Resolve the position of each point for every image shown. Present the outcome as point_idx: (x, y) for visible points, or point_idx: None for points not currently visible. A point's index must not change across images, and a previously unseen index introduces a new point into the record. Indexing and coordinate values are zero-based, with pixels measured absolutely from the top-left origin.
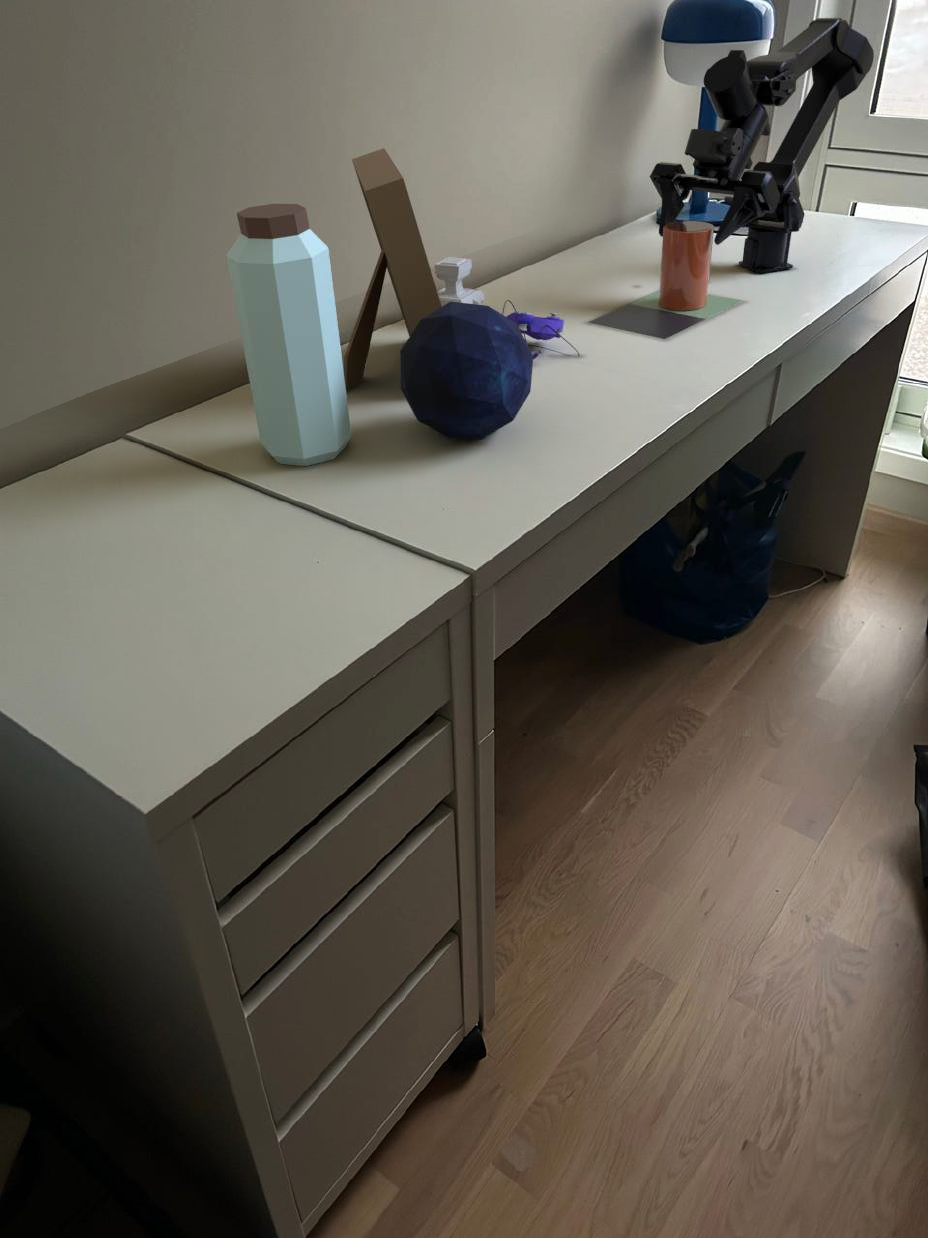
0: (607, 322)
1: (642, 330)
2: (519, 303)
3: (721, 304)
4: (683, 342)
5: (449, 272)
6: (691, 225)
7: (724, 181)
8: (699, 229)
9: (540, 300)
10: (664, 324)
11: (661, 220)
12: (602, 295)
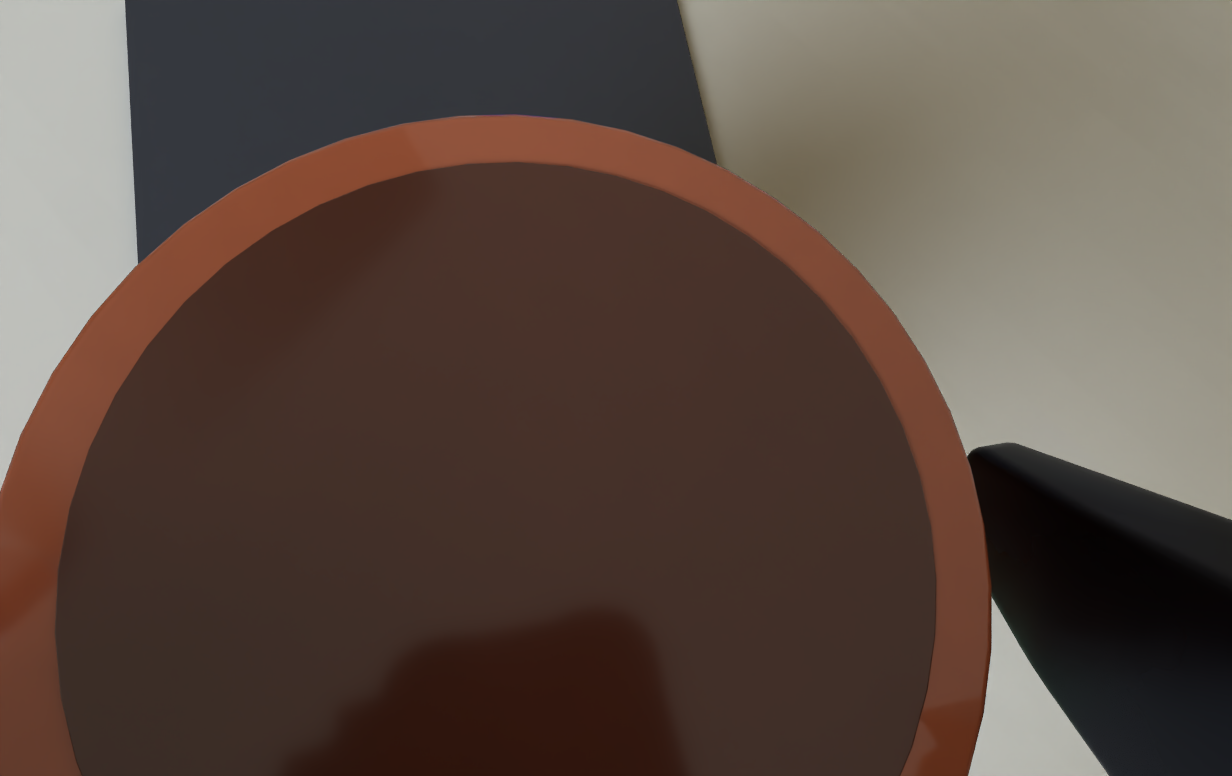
0: (588, 20)
1: (334, 30)
2: (1167, 8)
3: None
4: (9, 36)
5: None
6: (530, 634)
7: None
8: (177, 481)
9: (1153, 103)
10: None
11: (1171, 510)
12: (1032, 393)
